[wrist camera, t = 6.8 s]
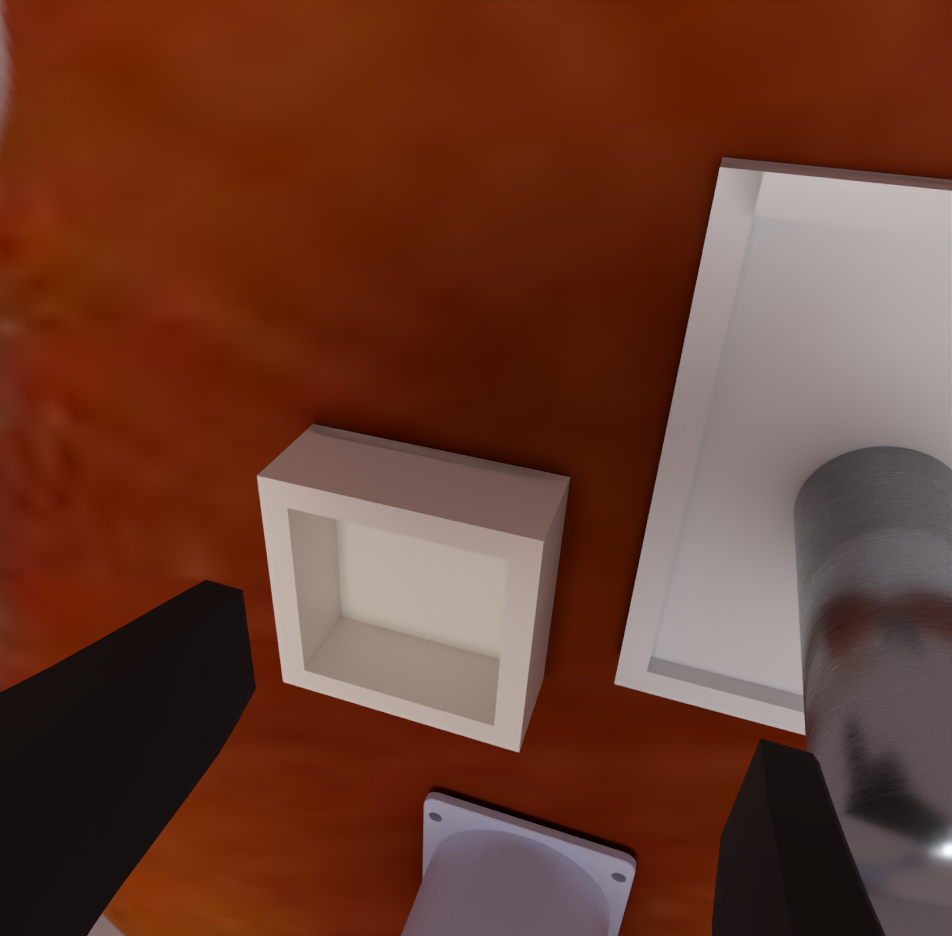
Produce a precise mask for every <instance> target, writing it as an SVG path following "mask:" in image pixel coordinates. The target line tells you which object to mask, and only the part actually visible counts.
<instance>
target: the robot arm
mask: <svg viewBox="0 0 952 936" xmlns="http://www.w3.org/2000/svg"><path fill="white" fill-rule="evenodd" d="M255 689H256V686H255V679H254V671H253V664H252V656H251V649H250V642H249V634H248V627H247V619H246V612H245V604H244V597H243V590H240V589H236V588H233V587H229V586H226V585H222V584H219V583H215V582H212V581H208V580H205V581H203V582H201V583H199V584H198V585H196V586H194V587H192V588H190V589H188V590H186V591H185V592H183V593H181V594H179V595H177V596H176V597H174V598H172V599H170V600H169V601H167V602H165V603H163V604H162V605H160V606H158V607H156V608H155V609H153V610H151V611H149V612H148V613H146V614H144V615H142V616H141V617H139V618H137V619H135V620H134V621H132V622H130V623H128V624H127V625H125V626H123V627H121V628H120V629H118V630H116V631H114V632H113V633H111V634H109V635H107V636H105V637H104V638H102V639H100V640H98V641H96V642H95V643H93V644H91V645H89V646H87V647H86V648H84V649H82V650H80V651H78V652H77V653H75V654H73V655H71V656H69V657H68V658H66V659H64V660H62V661H60V662H59V663H57V664H55V665H53V666H51V667H49V668H48V669H46V670H44V671H42V672H40V673H38V674H36V675H34V676H32V677H30V678H28V679H26V680H24V681H22V682H20V683H18V684H16V685H14V686H12V687H10V688H9V689H7V690H5V691H3V692H1V693H0V936H87V935H88V933H89V932H90V930H91V929H92V927H93V926H94V924H95V923H96V921H97V920H98V918H99V917H100V915H101V914H102V912H103V911H104V910H105V908H106V907H107V905H108V904H109V902H110V901H111V899H112V898H113V897H114V895H115V894H116V892H117V891H118V889H119V888H120V887H121V885H122V884H123V883H124V881H125V880H126V879H127V877H128V876H129V875H130V873H131V872H132V871H133V869H134V868H135V867H136V865H137V864H138V863H139V861H140V860H141V859H142V857H143V856H144V855H145V853H146V852H147V851H148V849H149V848H150V846H151V845H152V844H153V842H154V841H155V840H156V838H157V837H158V836H159V834H160V833H161V832H162V830H163V829H164V828H165V826H166V825H167V824H168V822H169V821H170V820H171V818H172V817H173V816H174V814H175V813H176V812H177V810H178V809H179V808H180V806H181V805H182V804H183V802H184V801H185V799H186V798H187V797H188V795H189V794H190V793H191V791H192V790H193V789H194V787H195V786H196V784H197V783H198V782H199V780H200V779H201V778H202V776H203V775H204V774H205V772H206V771H207V769H208V768H209V767H210V765H211V764H212V762H213V761H214V760H215V758H216V757H217V755H218V754H219V753H220V751H221V749H222V748H223V746H224V744H225V743H226V741H227V739H228V738H229V736H230V734H231V732H232V731H233V729H234V727H235V726H236V724H237V722H238V720H239V718H240V717H241V715H242V713H243V711H244V709H245V708H246V706H247V704H248V702H249V700H250V698H251V697H252V695H253V693H254V691H255ZM635 870H636V861H635V859H634V858H633V857H632V856H631V855H629V854H627V853H625V852H622V851H619V850H616V849H613V848H610V847H607V846H604V845H601V844H598V843H594V842H591V841H588V840H585V839H582V838H579V837H576V836H573V835H570V834H566V833H563V832H560V831H557V830H554V829H551V828H548V827H545V826H542V825H538V824H535V823H532V822H529V821H526V820H523V819H520V818H517V817H514V816H510V815H507V814H504V813H501V812H498V811H495V810H492V809H489V808H486V807H482V806H479V805H476V804H473V803H470V802H467V801H464V800H461V799H458V798H454V797H451V796H448V795H445V794H442V793H438V792H431V793H429V794H428V795H427V797H426V799H425V802H424V821H423V881H422V883H421V886H420V888H419V891H418V893H417V896H416V899H415V901H414V904H413V906H412V909H411V911H410V914H409V917H408V919H407V922H406V924H405V927H404V929H403V932H402V935H401V936H618V933H619V929H620V925H621V922H622V918H623V915H624V911H625V908H626V904H627V900H628V897H629V893H630V890H631V886H632V882H633V879H634V875H635ZM712 936H886V935H885V933H884V931H883V928H882V926H881V924H880V921H879V919H878V917H877V915H876V912H875V910H874V908H873V905H872V903H871V900H870V898H869V896H868V893H867V891H866V888H865V886H864V883H863V881H862V879H861V876H860V873H859V871H858V868H857V866H856V863H855V861H854V858H853V856H852V853H851V850H850V848H849V845H848V843H847V840H846V837H845V835H844V832H843V829H842V827H841V824H840V821H839V819H838V816H837V813H836V810H835V807H834V805H833V802H832V799H831V796H830V793H829V790H828V787H827V784H826V781H825V778H824V775H823V772H822V769H821V766H820V763H819V761H818V760H817V759H816V757H815V756H814V754H813V753H809V752H806V751H802V750H799V749H795V748H792V747H788V746H785V745H781V744H778V743H774V742H771V741H767V740H764V739H760V741H759V744H758V746H757V749H756V751H755V754H754V756H753V758H752V761H751V763H750V766H749V768H748V771H747V773H746V776H745V778H744V781H743V783H742V786H741V788H740V791H739V793H738V796H737V798H736V801H735V803H734V806H733V808H732V811H731V813H730V816H729V818H728V821H727V823H726V825H725V828H724V830H723V833H722V835H721V841H720V850H719V859H718V869H717V878H716V888H715V898H714V909H713V919H712Z"/></svg>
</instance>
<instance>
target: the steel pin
mask: <svg viewBox="0 0 952 936" xmlns="http://www.w3.org/2000/svg"><path fill="white" fill-rule="evenodd" d="M793 515H794V535H795V553H796V571H797V589H798V608H799V626H800V644H801V662H802V681H803V699H804V717H805V735H806V752H809V753H813V754H814V756H815V757H816V759H817V760H818V761H819V763H820V766H821V769H822V772H823V775H824V778H825V781H826V784H827V787H828V790H829V793H830V796H831V799H832V802H833V805H834V807H835V810H836V813H837V816H838V819H839V821H840V824H841V827H842V829H843V832H844V835H845V837H846V840H847V843H848V845H849V848H850V850H851V853H852V856H853V858H854V861H855V863H856V866H857V868H858V871H859V873H860V876H861V879H862V881H863V883H864V886H865V888H866V891H867V893H868V896H869V898H870V900H871V903H872V905H873V908H874V910H875V912H876V915H877V917H878V919H879V921H880V924H881V926H882V928H883V931H884V933H885V935H886V936H952V470H951V469H950V468H949V467H948V466H946V465H945V464H944V463H942V462H941V461H939V460H937V459H936V458H934V457H932V456H930V455H927V454H925V453H922V452H919V451H915V450H912V449H907V448H901V447H890V446H881V447H869V448H863V449H858V450H854V451H851V452H848V453H845V454H842V455H840V456H838V457H836V458H834V459H832V460H830V461H828V462H827V463H825V464H824V465H822V466H821V467H819V468H818V469H817V470H816V471H815V472H813V473H812V474H811V476H810V477H809V478H808V479H807V480H806V481H805V483H804V484H803V486H802V487H801V489H800V491H799V493H798V495H797V498H796V501H795V504H794V512H793Z"/></svg>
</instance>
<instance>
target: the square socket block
mask: <svg viewBox="0 0 952 936" xmlns="http://www.w3.org/2000/svg"><path fill="white" fill-rule="evenodd" d="M257 480H258V488H259V496H260V504H261V511H262V519H263V527H264V535H265V543H266V551H267V559H268V567H269V574H270V582H271V590H272V598H273V606H274V614H275V622H276V630H277V637H278V645H279V653H280V661H281V669H282V677H283V682H285V683H289V684H292V685H295V686H299V687H302V688H305V689H309V690H312V691H315V692H319V693H322V694H325V695H329V696H332V697H335V698H339V699H342V700H345V701H349V702H352V703H355V704H359V705H362V706H365V707H369V708H372V709H375V710H379V711H382V712H385V713H389V714H392V715H395V716H399V717H402V718H405V719H409V720H412V721H415V722H419V723H422V724H425V725H429V726H432V727H435V728H439V729H442V730H445V731H449V732H452V733H455V734H459V735H462V736H465V737H469V738H472V739H475V740H479V741H482V742H485V743H489V744H492V745H495V746H499V747H502V748H505V749H509V750H512V751H515V752H519V751H520V748H521V745H522V742H523V739H524V736H525V733H526V730H527V727H528V724H529V721H530V718H531V715H532V712H533V708H534V705H535V702H536V699H537V696H538V693H539V690H540V687H541V684H542V681H543V678H544V671H545V663H546V656H547V648H548V641H549V633H550V626H551V618H552V611H553V603H554V596H555V588H556V581H557V573H558V566H559V558H560V550H561V543H562V535H563V528H564V520H565V513H566V505H567V498H568V490H569V483H570V477H568V476H563V475H558V474H553V473H548V472H543V471H539V470H534V469H529V468H524V467H519V466H514V465H510V464H505V463H500V462H495V461H490V460H485V459H480V458H476V457H471V456H466V455H461V454H456V453H451V452H447V451H442V450H437V449H432V448H427V447H422V446H418V445H413V444H408V443H403V442H398V441H393V440H389V439H384V438H379V437H374V436H369V435H364V434H360V433H355V432H350V431H345V430H340V429H335V428H331V427H326V426H321V425H316V424H313V425H311V426H310V427H309V428H308V429H307V430H306V431H305V432H304V433H303V434H302V435H301V436H299V437H298V438H297V439H296V440H295V441H294V442H293V443H292V444H291V445H290V446H289V447H288V448H286V449H285V450H284V451H283V452H282V453H281V454H280V455H279V456H278V457H277V458H276V459H274V460H273V461H272V462H271V463H270V464H269V465H268V466H267V467H266V468H265V469H264V470H263V471H261V472H260V473H259V474H258V475H257Z"/></svg>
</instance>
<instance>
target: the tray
mask: <svg viewBox="0 0 952 936" xmlns="http://www.w3.org/2000/svg"><path fill="white" fill-rule="evenodd" d="M881 446H890V447H901V448H907V449H912V450H915V451H919V452H922V453H925V454H927V455H930V456H932V457H934V458H936V459H937V460H939V461H941V462H942V463H944V464H945V465H946V466H948V467H949V468H950V469H951V470H952V180H948V179H938V178H928V177H918V176H908V175H898V174H888V173H878V172H867V171H857V170H847V169H837V168H827V167H817V166H807V165H797V164H787V163H777V162H767V161H757V160H747V159H737V158H727V157H722V161H721V165H720V169H719V174H718V179H717V184H716V189H715V194H714V199H713V204H712V208H711V213H710V218H709V223H708V228H707V233H706V238H705V243H704V248H703V252H702V257H701V262H700V267H699V272H698V277H697V282H696V287H695V292H694V296H693V301H692V306H691V311H690V316H689V321H688V326H687V331H686V336H685V340H684V345H683V350H682V355H681V360H680V365H679V370H678V375H677V380H676V384H675V389H674V394H673V399H672V404H671V409H670V414H669V419H668V424H667V428H666V433H665V438H664V443H663V448H662V453H661V458H660V463H659V468H658V472H657V477H656V482H655V487H654V492H653V497H652V502H651V507H650V512H649V516H648V521H647V526H646V531H645V536H644V541H643V546H642V551H641V556H640V561H639V565H638V570H637V575H636V580H635V585H634V590H633V595H632V600H631V605H630V609H629V614H628V619H627V624H626V629H625V634H624V639H623V644H622V649H621V653H620V658H619V663H618V668H617V673H616V678H615V683H614V684H616V685H620V686H624V687H628V688H631V689H635V690H639V691H642V692H646V693H650V694H654V695H657V696H661V697H665V698H668V699H672V700H676V701H680V702H683V703H687V704H691V705H694V706H698V707H702V708H706V709H709V710H713V711H717V712H720V713H724V714H728V715H732V716H735V717H739V718H743V719H746V720H750V721H754V722H758V723H761V724H765V725H769V726H772V727H776V728H780V729H784V730H787V731H791V732H795V733H798V734H802V735H805V717H804V699H803V681H802V662H801V644H800V626H799V608H798V589H797V571H796V553H795V535H794V515H793V512H794V504H795V501H796V498H797V495H798V493H799V491H800V489H801V487H802V486H803V484H804V483H805V481H806V480H807V479H808V478H809V477H810V476H811V474H812V473H813V472H815V471H816V470H817V469H818V468H819V467H821V466H822V465H824V464H825V463H827V462H828V461H830V460H832V459H834V458H836V457H838V456H840V455H842V454H845V453H848V452H851V451H854V450H858V449H863V448H869V447H881Z"/></svg>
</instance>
